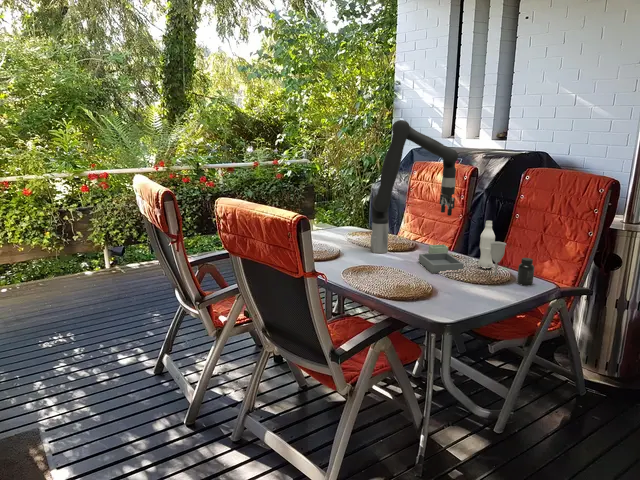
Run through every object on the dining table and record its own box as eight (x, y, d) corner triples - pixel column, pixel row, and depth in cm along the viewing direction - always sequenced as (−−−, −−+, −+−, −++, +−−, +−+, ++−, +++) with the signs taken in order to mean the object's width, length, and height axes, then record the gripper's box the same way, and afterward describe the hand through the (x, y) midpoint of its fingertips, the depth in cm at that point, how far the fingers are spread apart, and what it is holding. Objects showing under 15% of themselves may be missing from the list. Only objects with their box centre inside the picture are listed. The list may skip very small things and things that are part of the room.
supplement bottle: (532, 282, 231) (535, 258, 228) (532, 286, 225) (535, 262, 222) (517, 280, 234) (519, 256, 231) (516, 284, 228) (519, 260, 225)
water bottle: (493, 267, 254) (497, 220, 248) (491, 271, 248) (495, 223, 242) (478, 265, 257) (482, 219, 251) (476, 269, 251) (480, 221, 244)
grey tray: (432, 273, 244) (433, 265, 243) (418, 262, 263) (419, 254, 262) (463, 272, 246) (463, 263, 245) (446, 260, 266) (447, 252, 264)
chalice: (502, 277, 237) (506, 242, 233) (503, 282, 231) (506, 245, 227) (487, 276, 240) (490, 241, 235) (486, 280, 234) (490, 244, 229)
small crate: (432, 257, 271) (432, 248, 270) (428, 254, 277) (428, 245, 276) (447, 256, 273) (448, 247, 271) (443, 253, 278) (443, 244, 277)
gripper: (436, 183, 279) (434, 211, 283) (447, 187, 265) (445, 216, 269) (449, 183, 280) (446, 211, 284) (460, 187, 267) (457, 216, 271)
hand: (446, 214), depth 277 cm, fingers open, 8 cm apart
